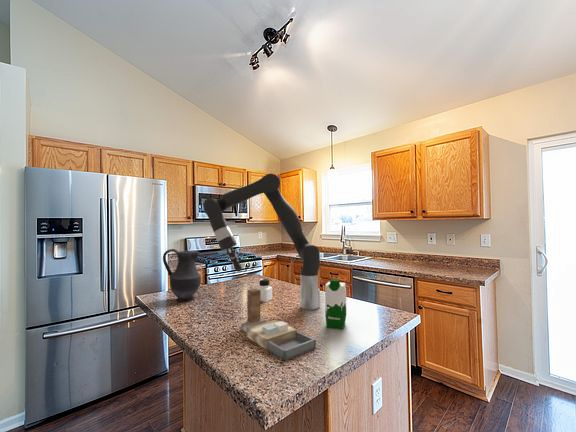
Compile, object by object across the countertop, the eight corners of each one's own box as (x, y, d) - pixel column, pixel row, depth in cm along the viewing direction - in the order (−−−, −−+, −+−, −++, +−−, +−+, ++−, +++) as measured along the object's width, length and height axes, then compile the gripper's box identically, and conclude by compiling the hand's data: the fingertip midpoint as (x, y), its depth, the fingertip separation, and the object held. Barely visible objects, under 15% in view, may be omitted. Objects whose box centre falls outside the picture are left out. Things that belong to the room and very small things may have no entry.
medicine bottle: (272, 299, 158) (272, 278, 159) (266, 302, 152) (266, 280, 152) (262, 297, 161) (262, 277, 162) (255, 300, 155) (255, 279, 155)
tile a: (273, 328, 104) (273, 323, 104) (281, 326, 107) (281, 321, 107) (279, 331, 101) (279, 326, 101) (288, 329, 103) (288, 323, 103)
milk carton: (323, 328, 113) (323, 280, 114) (327, 320, 122) (327, 276, 123) (345, 330, 111) (344, 281, 111) (347, 323, 119) (347, 277, 120)
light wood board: (246, 336, 105) (246, 327, 105) (275, 328, 114) (275, 319, 114) (266, 349, 94) (266, 339, 94) (297, 338, 103) (297, 329, 103)
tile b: (262, 332, 101) (262, 326, 101) (271, 329, 103) (271, 324, 103) (268, 335, 98) (268, 329, 98) (277, 332, 100) (277, 327, 100)
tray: (267, 350, 94) (267, 341, 94) (297, 339, 103) (297, 331, 103) (284, 360, 86) (284, 351, 86) (315, 348, 95) (315, 339, 95)
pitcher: (200, 302, 151) (200, 249, 152) (159, 306, 145) (160, 250, 146) (201, 295, 168) (201, 247, 169) (164, 298, 162) (165, 248, 163)
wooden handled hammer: (241, 329, 112) (241, 291, 113) (261, 323, 119) (261, 287, 119) (245, 332, 109) (245, 292, 110) (266, 326, 116) (266, 289, 116)
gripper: (231, 232, 118) (246, 266, 116) (234, 237, 132) (247, 267, 129) (215, 240, 117) (230, 274, 114) (219, 243, 130) (233, 274, 128)
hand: (239, 270), depth 122 cm, fingers open, 8 cm apart
